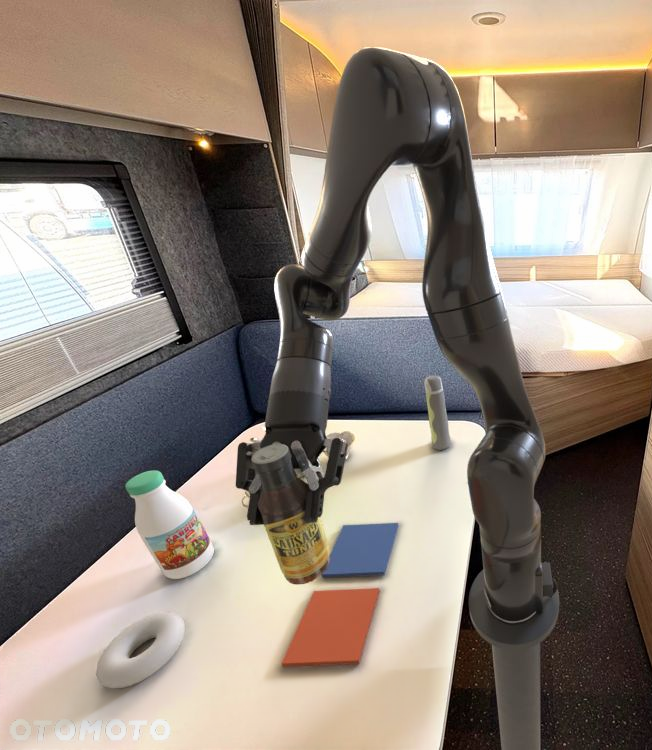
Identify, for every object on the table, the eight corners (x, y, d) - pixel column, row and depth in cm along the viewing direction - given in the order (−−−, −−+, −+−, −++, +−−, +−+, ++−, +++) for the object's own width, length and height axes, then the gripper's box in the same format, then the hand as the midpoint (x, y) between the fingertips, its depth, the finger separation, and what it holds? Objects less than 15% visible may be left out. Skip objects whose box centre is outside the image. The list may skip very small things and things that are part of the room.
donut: (93, 710, 51) (183, 666, 56) (78, 697, 50) (173, 652, 54) (115, 642, 59) (193, 608, 63) (103, 629, 58) (184, 595, 62)
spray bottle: (445, 437, 104) (437, 371, 95) (454, 446, 101) (446, 377, 92) (429, 444, 102) (418, 376, 93) (437, 453, 98) (427, 383, 89)
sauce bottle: (288, 596, 51) (233, 480, 42) (282, 562, 55) (232, 452, 47) (339, 570, 54) (298, 457, 45) (330, 540, 58) (291, 432, 50)
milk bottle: (154, 582, 68) (97, 496, 60) (184, 546, 75) (138, 464, 67) (197, 579, 68) (147, 493, 60) (224, 543, 75) (182, 462, 67)
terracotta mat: (379, 591, 65) (379, 588, 64) (359, 663, 55) (358, 660, 55) (314, 593, 65) (313, 590, 64) (282, 666, 55) (281, 663, 55)
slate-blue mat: (398, 525, 77) (397, 522, 77) (384, 574, 67) (383, 571, 67) (344, 528, 77) (343, 525, 77) (322, 577, 68) (321, 574, 67)
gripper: (231, 391, 50) (205, 528, 45) (340, 385, 50) (327, 522, 45) (265, 405, 57) (246, 525, 52) (361, 400, 57) (352, 520, 52)
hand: (284, 523), depth 48 cm, fingers closed on sauce bottle, 6 cm apart
